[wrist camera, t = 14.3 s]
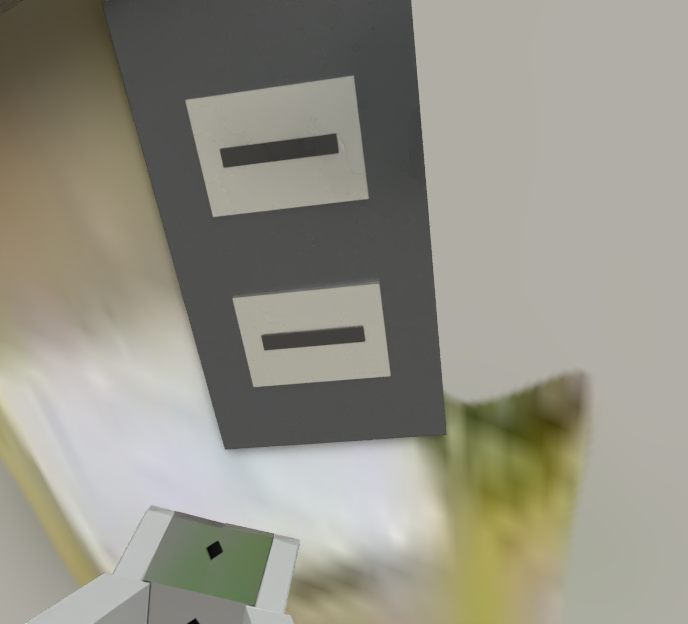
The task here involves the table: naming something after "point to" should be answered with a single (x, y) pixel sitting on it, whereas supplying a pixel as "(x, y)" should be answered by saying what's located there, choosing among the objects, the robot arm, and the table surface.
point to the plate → (292, 209)
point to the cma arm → (7, 5)
